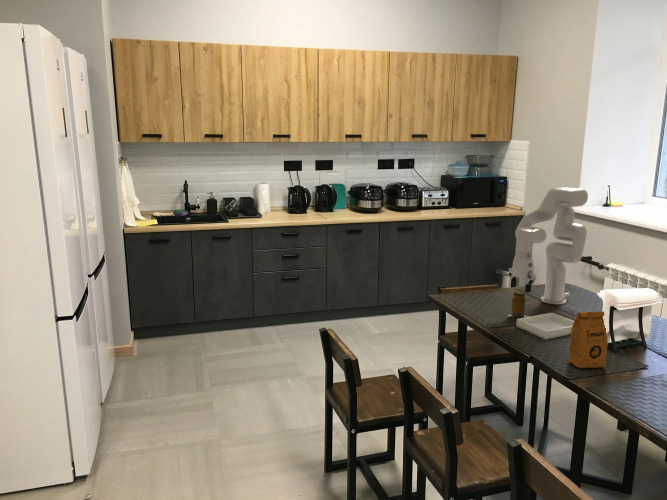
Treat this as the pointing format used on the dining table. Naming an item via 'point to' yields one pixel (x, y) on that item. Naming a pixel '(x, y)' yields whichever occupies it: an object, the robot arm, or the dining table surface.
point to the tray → (546, 325)
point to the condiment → (518, 305)
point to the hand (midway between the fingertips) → (520, 289)
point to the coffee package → (588, 340)
